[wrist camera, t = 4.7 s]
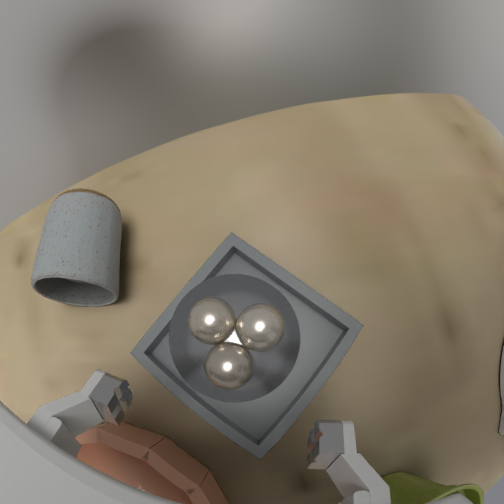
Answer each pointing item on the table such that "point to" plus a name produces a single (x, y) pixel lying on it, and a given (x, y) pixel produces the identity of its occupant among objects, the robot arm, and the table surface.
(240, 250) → the parts tray
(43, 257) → the ceramic mug
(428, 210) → the table surface
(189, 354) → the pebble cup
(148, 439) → the terracotta bowl
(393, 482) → the plant pot
